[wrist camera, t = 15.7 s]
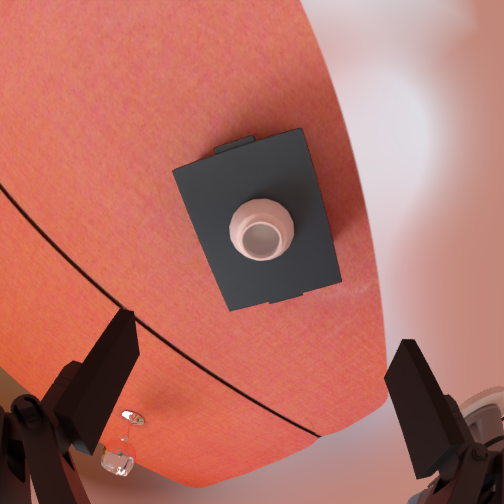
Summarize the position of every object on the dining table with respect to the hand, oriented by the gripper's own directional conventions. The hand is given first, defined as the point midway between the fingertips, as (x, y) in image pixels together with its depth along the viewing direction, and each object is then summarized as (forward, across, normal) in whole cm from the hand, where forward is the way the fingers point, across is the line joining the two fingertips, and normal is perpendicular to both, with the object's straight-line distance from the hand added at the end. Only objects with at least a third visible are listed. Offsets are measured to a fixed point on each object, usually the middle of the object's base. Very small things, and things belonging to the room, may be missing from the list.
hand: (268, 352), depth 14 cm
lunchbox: (+20, -1, +2) cm, 20 cm away
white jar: (+13, -1, +2) cm, 13 cm away
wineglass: (+20, -20, -39) cm, 48 cm away
